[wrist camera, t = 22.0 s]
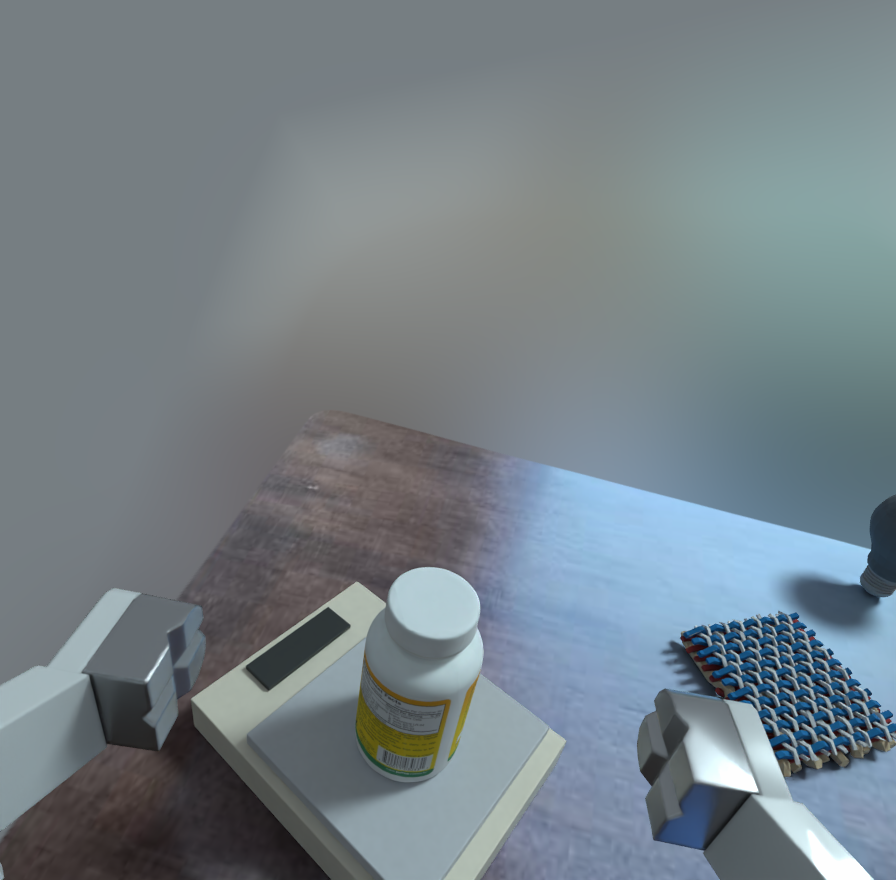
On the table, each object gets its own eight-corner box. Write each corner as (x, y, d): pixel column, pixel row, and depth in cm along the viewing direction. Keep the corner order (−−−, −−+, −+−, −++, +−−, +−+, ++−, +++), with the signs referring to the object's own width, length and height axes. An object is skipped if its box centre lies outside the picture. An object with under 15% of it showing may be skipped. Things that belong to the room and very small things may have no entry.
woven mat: (903, 753, 37) (922, 734, 36) (771, 787, 34) (787, 768, 33) (784, 621, 46) (796, 603, 44) (668, 639, 42) (678, 620, 41)
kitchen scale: (193, 725, 32) (188, 689, 30) (354, 605, 41) (358, 572, 39) (417, 976, 25) (427, 946, 23) (556, 765, 33) (570, 731, 31)
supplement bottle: (389, 809, 27) (415, 676, 22) (335, 714, 30) (346, 580, 25) (480, 749, 30) (521, 620, 25) (421, 669, 33) (447, 541, 28)
